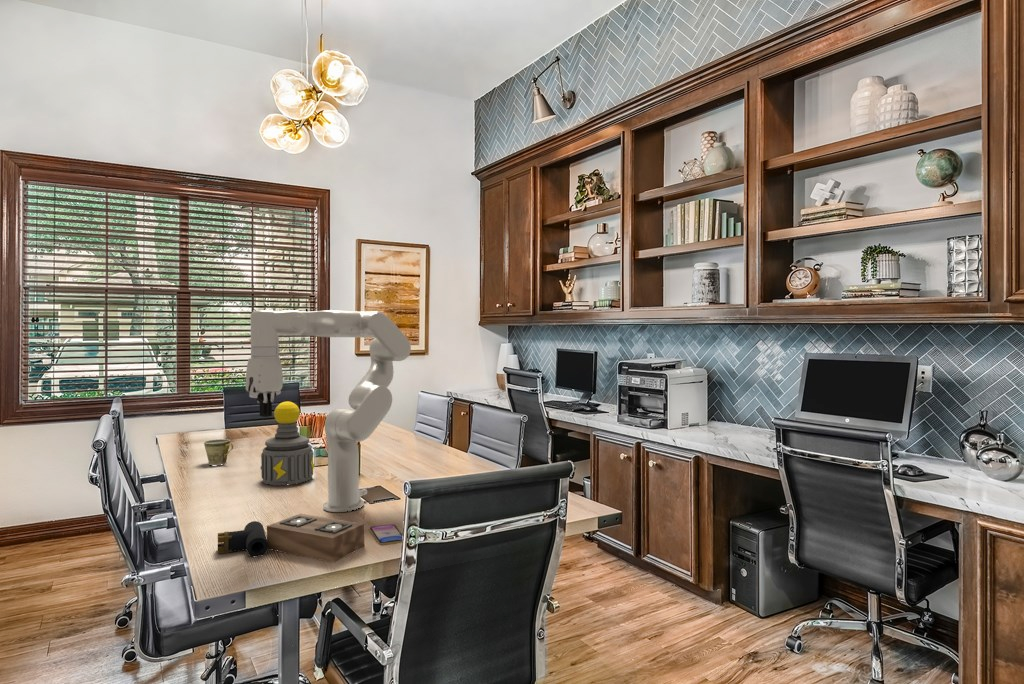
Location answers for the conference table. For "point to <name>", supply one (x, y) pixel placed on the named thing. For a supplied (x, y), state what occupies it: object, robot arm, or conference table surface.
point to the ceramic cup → (217, 451)
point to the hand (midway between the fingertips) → (265, 416)
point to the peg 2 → (333, 526)
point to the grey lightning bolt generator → (287, 450)
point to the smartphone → (386, 534)
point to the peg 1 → (298, 520)
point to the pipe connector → (244, 540)
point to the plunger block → (316, 537)
